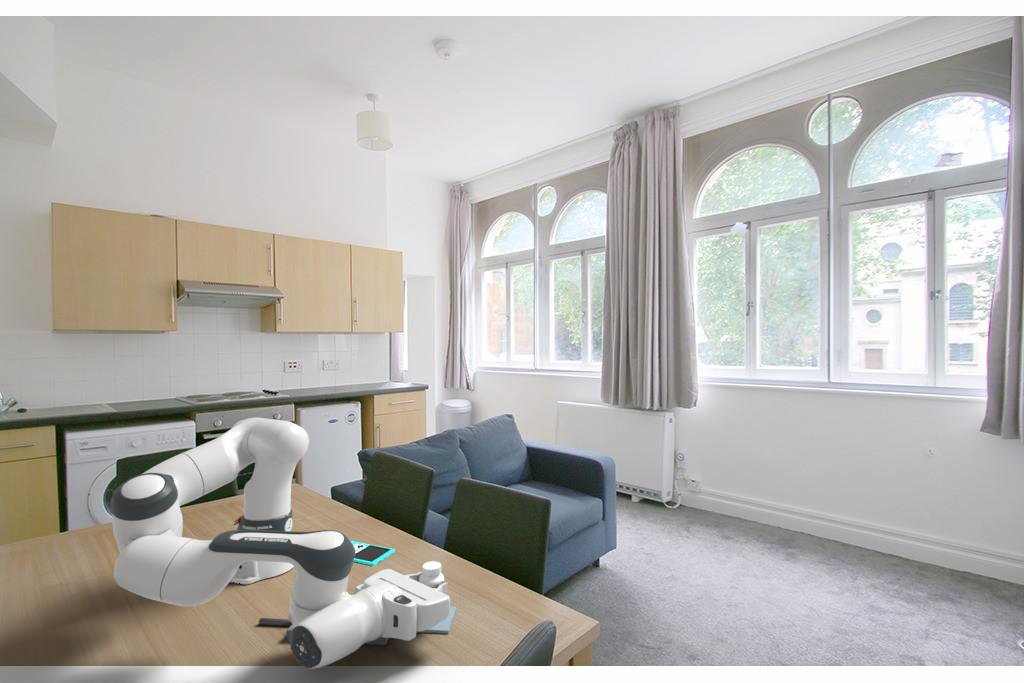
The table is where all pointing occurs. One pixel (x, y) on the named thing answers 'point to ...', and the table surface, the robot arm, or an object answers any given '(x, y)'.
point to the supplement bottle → (431, 574)
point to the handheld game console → (370, 553)
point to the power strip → (287, 623)
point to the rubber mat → (443, 624)
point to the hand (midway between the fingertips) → (434, 580)
